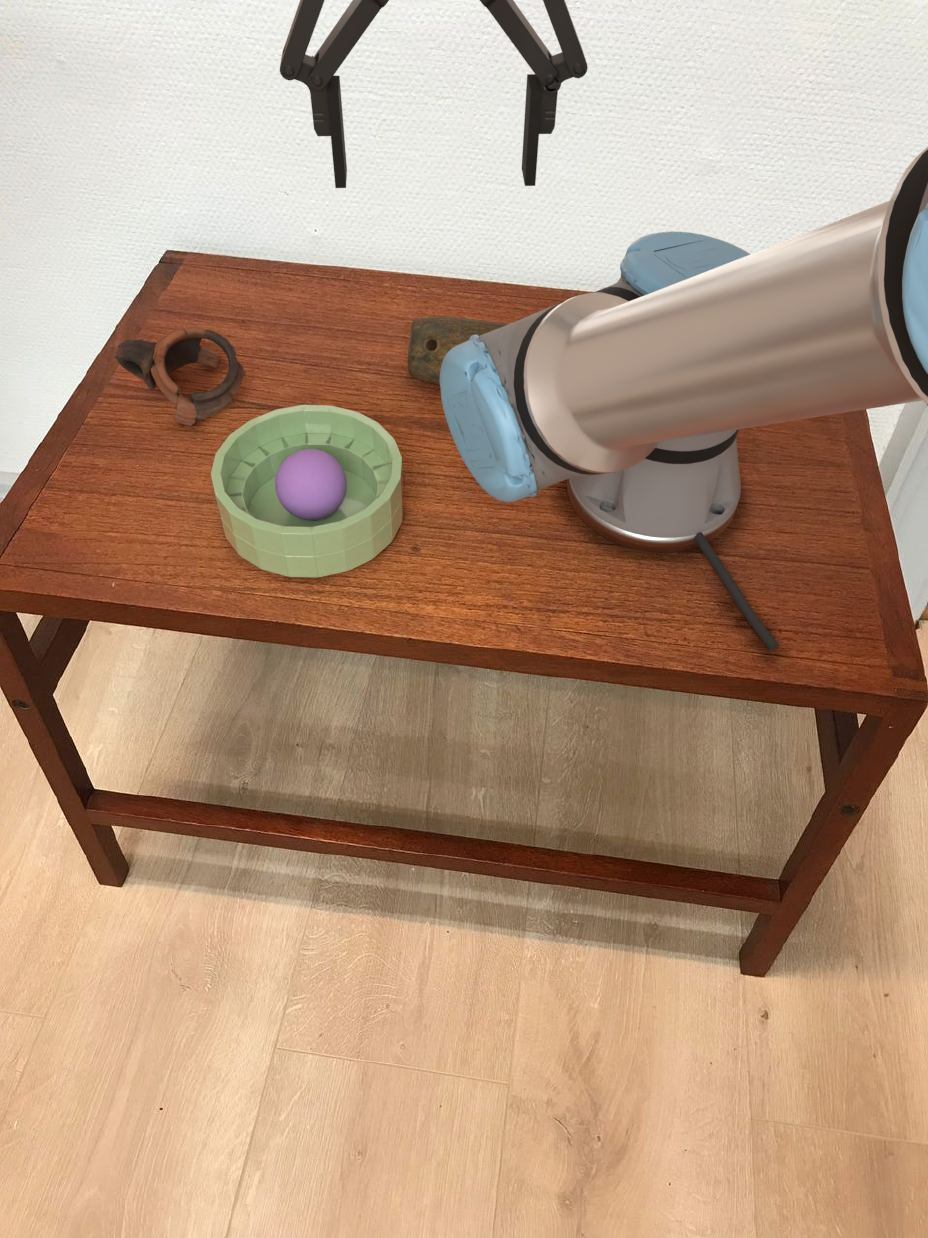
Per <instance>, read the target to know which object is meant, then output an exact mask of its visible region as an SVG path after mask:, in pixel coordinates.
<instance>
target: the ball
mask: <svg viewBox="0 0 928 1238" xmlns="http://www.w3.org/2000/svg"><path fill="white" fill-rule="evenodd" d="M275 489H276V494H277V497H278V499H279V501H280V503H281V504H282V506H283V507H284V508H285V509H286V510H287V511H288V512H289V513H290V514H292V515H294V516H295V517H297V518H300V519H304V520H320V519H323V518H326V517H328V516H330V515H331V514H333V513H334V512H335V511H336V510H337V509H338V508H339V507H340V505H341V504H342V502H343V500H344V498H345V495H346V490H347V481H346V476H345V473H344V470H343V468H342V467H341V465H340V464H339V462H338V461H337V460H336V459H335V458H334V457H332V456H331V455H330V454H328V453H326V452H324V451H321V450H317V449H304V450H300V451H297V452H295V453H293V454H291V455H290V456H288V457H287V458H286V459H285V460H284V461H283V462H282V464H281V465H280V467H279V469H278V471H277V474H276V479H275Z"/></svg>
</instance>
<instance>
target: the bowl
mask: <svg viewBox="0 0 928 1238" xmlns="http://www.w3.org/2000/svg"><path fill="white" fill-rule="evenodd" d="M304 449H317V450H321V451H324V452H326V453H328V454H330V455H331V456H332V457H334V458H335V459H336V460H337V461H338V462H339V464H340V465H341V467H342V468H343V470H344V473H345V476H346V481H347V490H346V495H345V498H344V500H343V502H342V504H341V505H340V507H339V508H338V509H337V510H336V511H335V512H334V513H333V514H331V515H330V516H328V517H326V518H323V519H320V520H304V519H300V518H297V517H295V516H294V515H292V514H290V513H289V512H288V511H287V510H286V509H285V508H284V507H283V506H282V504H281V503H280V501H279V499H278V497H277V494H276V489H275V479H276V474H277V471H278V469H279V467H280V465H281V464H282V462H283V461H284V460H285V459H286V458H287V457H288V456H290V455H291V454H293V453H295V452H297V451H300V450H304ZM403 472H404V467H403V456H402V454H401V452H400V449H399V446H398V444H397V442H396V440H395V438H394V437H393V436H392V435H391V434H390V433H389V432H388V430H387V429H386V428H384V427H383V426H382V425H381V424H380V423H379V422H378V421H376V420H374V419H373V418H371V417H369V416H366V415H364V414H362V413H361V412H359V411H357V410H351V409H348V408H343V407H338V406H335V405H330V404H329V405H328V404H326V405H325V404H298V405H295V406H289V407H282V408H277V409H273V410H271V411H269V412H266V413H264V414H262V415H258V416H257V417H254V418H252V419H250V420H248V421H246V422H245V423H243V424H242V425H241V426H240V427H238V428H237V429H235V430H234V431H233V432H231V433H230V434H229V435H228V436H227V438H226V439H225V440H224V441H223V443H222V444H221V446H220V447H219V448H218V450H217V451H216V452H215V455H214V459H213V463H212V467H211V471H210V478H211V482H212V488H213V492H214V495H215V499H216V500H215V501H216V504H217V508H218V512H219V517H220V520H221V524H222V528H223V532H224V536H225V539H226V540H227V541H228V543H229V544H230V545H231V547H232V548H233V549H234V551H235V552H236V553H237V554H238V556H239V557H241V558H243V559H244V560H246V561H247V562H248V563H251V565H254V566H255V567H257V568H258V569H260V570H262V571H265V572H269V573H273V574H277V575H280V576H283V577H287V578H288V577H289V578H313V579H314V578H322V577H327V576H332V575H337V574H341V573H346V572H349V571H351V570H354V569H355V568H357V567H360V566H362V565H364V564H365V563H368V562H369V561H371V560H374V559H375V558H376V557H377V556H378V555H379V554H381V552H382V551H383V550H385V549H386V548H387V547H388V546H389V545H390V544H391V543H392V542H393V541H394V539H395V537H396V535H397V533H398V530H399V529H400V527H401V525H402V523H403V519H404V517H403V516H404V505H405V499H404V498H405V497H404V473H403Z"/></svg>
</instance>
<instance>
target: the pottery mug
mask: <svg viewBox="0 0 928 1238" xmlns="http://www.w3.org/2000/svg"><path fill="white" fill-rule="evenodd" d="M202 339H204V340H208V341H210V342H212V343H214V344H216V345H217V346H218V347H219V348H220V349H221V350H222V351H223V353H224V354H225V355H226V357H227V361H228V371H227V374H226V376H225V378H224V379H223V380H222V382H221V383H219V384H218V385H217V386H215V387H213V388H211V389H209V390H204V391H190V396H191V398H190V397H187V396H184V395H183V394H181V393H180V386H179V385H178V384H177V383H176V382H175V381H173V380H172V378H171V377H170V376H171V375H172V374H173V373H174V372H175V371H177V370H179V369H181V368H183V367H185V366H187V365H192V364H199V365H200V364H201V365H205V366H208V367H212V368H213V369H217V368H218V367H219V363H220V361H219V360H220V357H221V355H220V353H219V352H217V351H214V350H211V349H209V348H208V347H206V346H203V345H201V342H202ZM236 355H237V351H236V348H235V346H234V345H233V344H232V343H231V342H230V341H229V340H228V339H227V338H226V337H224V336H222V335H221V334H220V333H218V332H216V331H214V330H212V329H206V328H203V327H196V326H192V327H191V326H190V327H185V328H180V329H179V328H178V329H176V330H175V331H173V332H171V333H169V334H167V335H166V336H164V337H163V338H161V339H160V340H158V341H157V342H154V341H153V342H151V341H147V340H141V339H126V340H122V341H121V342H120V343H119V344H117V350H116V353H115V359H116V361H117V362H118V364H119V365H120V367H122V368H123V369H124V370H126V372H129V373H130V374H132V375H134V376H135V377H137V378H139V379H140V380H142V381H143V382H144V383H145V385H146V386H147V388H148V389H149V390H150V391H154V390H155V389H156V386H157V387H158V388H159V390H160V392H161V393H162V394H163V396H164V397H165V399H167V400H168V401H169V402H170V403H172V404H173V405H174V406H176V408H175V414H174V416H173V418H174V420H175V422H176V423H178V424H180V425H184V426H187V427H192V426H193V425H194V424H196V422H197V421H203V420H205V419H207V418H210V417H212V416H214V415H215V414H217V413H219V412H221V411H222V410H224V409H226V408H227V407H228V406H230V405H231V404H232V403H233V402H234V398H233V396H237V395H238V394H239V392H240V389H241V386H242V382H243V380H244V377H245V376H246V374H247V371H246V370H245V368H244V366H243V365H242V364H241V363H240V362H239V361H238V357H237V356H236Z"/></svg>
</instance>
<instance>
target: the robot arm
mask: <svg viewBox="0 0 928 1238" xmlns="http://www.w3.org/2000/svg"><path fill="white" fill-rule="evenodd" d="M389 1H390V0H352V1H351V2H350V3H349V5H348V6H347V7H346V9H345V11H344V12H343V14H342V15H341V16H340V18H339V20H337V22H336V23H335V25H334V27H333V28H332V30H331V31H330V33H328V35H327V37H326V38H325V39H324V41H323V43H322V44H321V45H320V47H319V49H318V50H317V51H316V53H315V54H314V55H308V54H306V53H307V51H308V48H309V45H310V42H311V40H312V36H313V34H314V32H315V28H316V26H317V22H318V19H319V17H320V14H321V11H322V8H323V6H324V3H325V0H299V2H298V5H297V8H296V10H295V14H294V17H293V19H292V24H291V26H290V29H289V30H288V31H289V32H288V33H287V34H288V35H287V37H286V40H285V43H284V46H283V49H282V53H281V59H280V64H279V73H280V76H281V77H282V78H283V79H284V80H286V81H294V80H295V81H298V82H300V83H302V84H304V85H306V87H307V88H308V90H309V95H310V104H311V113H312V114H311V115H312V123H313V130H314V132H315V134H316V136H317V137H330V143H331V153H332V154H331V155H332V165H333V177H334V186H335V189H346V188H347V177H348V167H347V165H348V164H347V152H346V140H345V139H346V138H345V128H344V116H343V115H344V114H343V102H342V89H341V76H340V75H335V74H336V73H337V71H338V70H339V69H340V67H341V66H342V64H343V63H344V61H345V60H346V59H347V57H348V56H349V55H350V53H351V51H352V50H353V49H354V47H355V46H356V44H357V43H358V42H359V40H360V39H361V38H362V36H364V33H366V31H367V29H368V28H369V26H370V25H371V23H372V22H373V21H374V19H375V18H376V16H377V15H378V14H379V12H380V11H381V9H382V8H384V7H386V5H387V4H388V3H389ZM479 2H480V3H481V4H482V5H483V6H484V7H485V8H486V9H487V10H488V12H489V13H490V14H491V16H492V17H493V18H494V20H495V21H496V22H497V24H498V25H499V27H500V28H501V30H502V31H503V32H504V33H505V35H506V36H507V37H508V39H509V40H510V42H511V43H512V44H513V46H514V47H515V49H516V50H517V51H518V53H519V54H520V55H521V57H522V58H523V59H524V61H525V62H526V64H527V65H528V67H529V68H530V69H531V71H532V72H533V73H528V74H526V87H525V90H526V91H525V103H524V104H525V106H524V121H523V139H522V153H521V154H522V156H521V158H522V159H521V173H522V178H523V184H524V187H536V180H537V168H538V167H537V166H538V153H539V141H540V140H539V139H540V135H552V134H553V132H554V129H555V127H556V117H557V104H558V94H559V93H558V92H559V90H560V89H561V86H562V83H564V82H565V81H567V80H569V79H570V80H571V79H572V78H574V79H581V78H584V76H585V75H586V74H587V73H588V68H589V67H588V62H587V60H586V56H585V53H584V50H583V47H582V44H581V42H580V38H579V36H578V33H577V31H576V28H575V25H574V22H573V19H572V15H571V13H570V11H569V8H568V5H567V2H566V0H542V2H543V4H544V7H545V10H546V12H547V15H548V18H549V21H550V24H551V26H552V29H553V31H554V34H555V36H556V40H557V42H558V45H559V47H560V49H561V50H560V51H561V52H559V53H556V54H554V55H553V54H552V53H551V51H550V50H549V49H548V47H547V46H546V44H545V42H543V40H542V39H541V37H540V36H539V35H538V33H537V32H536V30H535V29H534V28H533V26H532V24H531V22H529V20H528V19H527V18H526V16H525V15H524V14H523V13H524V12H522V10H521V9H520V7H519V6H518V5H517V3H516V2H515V1H514V0H479ZM619 270H620V278H619V279H618V280H617V282H615V283H613V284H610V285H608V286H606V287H604V288H600V289H598V290H596V291H594V292H587V293H582V294H578V295H576V296H573V297H570V298H568V299H566V300H563V301H560V302H559V303H556V304H554V305H551V306H549V307H547V308H544V309H542V310H540V311H537V312H534V313H532V314H531V315H527V316H526V317H523V318H520V319H519V320H516V321H514V322H510V323H507V324H508V325H506V326H503V327H501V328H498V329H496V330H493V331H491V332H488V333H485V334H483V335H480V336H478V335H472V336H471V337H470V338H469V340H468V341H466V342H464V343H462V344H459V345H457V346H455V347H453V348H452V349H451V350H450V351H449V352H448V353H447V354H446V355H445V357H444V359H443V362H442V365H441V370H440V385H439V387H440V399H441V404H442V409H443V412H444V416H445V420H446V423H447V425H448V426H447V427H448V430H449V432H450V434H451V435H450V436H451V438H452V440H453V442H454V445H455V447H456V449H457V451H458V454H459V455H460V457H461V459H462V461H463V463H464V464H465V466H466V468H467V469H468V471H469V472H470V474H471V475H472V476H473V478H474V479H475V481H476V482H477V484H478V485H479V486H480V487H481V488H482V490H483V491H485V492H486V493H487V494H488V495H489V496H491V497H492V498H494V499H495V500H497V501H500V502H504V503H514V502H518V501H520V500H523V499H525V498H530V499H531V498H534V497H536V496H537V494H538V491H541V490H544V489H545V488H548V487H551V486H553V485H555V484H558V483H560V482H563V481H566V491H567V496H568V500H569V502H570V504H571V506H572V508H573V510H574V512H575V513H576V515H577V516H578V517H579V518H580V519H581V521H582V522H583V523H584V524H585V525H587V527H589V529H591V530H593V531H594V532H595V533H597V534H598V535H599V536H601V537H602V538H605V539H607V540H609V541H610V542H613V543H615V544H617V545H620V546H623V547H625V548H629V549H632V550H636V551H641V552H647V553H660V554H661V553H666V554H667V553H678V552H685V551H689V550H693V549H696V548H699V549H700V550H701V552H702V553H703V556H705V558H706V559H707V561H708V562H709V564H710V565H711V567H712V569H713V570H714V571H715V573H716V575H717V576H718V577H719V580H720V581H721V582H722V584H723V585H724V587H725V589H726V590H727V592H728V593H729V595H730V596H731V598H732V599H733V601H734V603H735V604H736V606H737V608H738V609H739V610H740V612H741V614H742V616H744V617H745V619H746V621H747V623H749V624H748V625H750V626H751V628H752V629H753V631H754V632H755V633H756V635H757V636H758V637H759V639H761V641H762V642H763V644H764V645H765V646H766V647H767V649H769V650H768V651H770V652H774V651H775V650H777V649H778V648H779V647H780V644H779V642H778V641H777V640H776V639H775V637H774V636H773V635H772V634H771V632H770V631H769V629H767V627H766V626H765V625H764V623H763V622H762V620H761V619H760V618H759V617H758V615H757V614H756V612H755V611H754V609H753V607H752V606H751V605H750V603H749V602H748V600H747V599H746V597H745V596H744V594H743V592H742V590H741V589H740V588H739V586H738V585H737V583H736V581H735V580H734V578H733V577H732V575H731V573H730V572H729V571H728V570H727V568H726V566H725V565H724V563H723V561H722V559H720V557H719V556H718V554H717V553H716V551H715V549H714V548H713V547H712V545H711V544H710V542H712V541H713V540H715V539H717V538H718V537H720V536H721V534H722V533H724V532H725V531H726V529H727V528H728V527H729V526H730V525H731V523H732V521H733V518H734V516H735V513H736V510H737V508H738V504H739V502H740V498H741V493H742V481H741V474H740V473H741V472H740V464H739V463H740V462H739V452H738V442H737V436H738V433H739V430H743V429H749V428H757V427H762V426H763V427H764V426H768V425H775V424H780V423H781V424H782V423H787V422H794V421H801V420H807V419H814V418H820V417H825V416H832V415H839V414H846V413H851V412H858V411H864V410H865V411H866V410H871V409H877V408H883V407H889V406H897V405H902V404H909V403H916V402H920V401H923V403H925V404H926V405H927V406H928V146H927V147H926V148H925V149H923V150H922V151H921V152H920V153H919V154H918V155H916V157H914V159H913V160H912V161H911V162H910V164H909V165H908V167H907V168H906V169H905V170H904V172H903V173H902V175H901V177H900V179H899V180H898V182H897V184H896V186H895V188H894V190H893V192H892V195H891V197H890V198H889V200H887V201H885V202H882V203H880V204H877V205H875V206H872V207H869V208H866V209H864V210H862V211H859V212H856V213H854V214H851V215H848V216H846V217H843V218H841V219H838V220H836V221H833V222H830V223H828V224H825V225H823V226H820V227H817V228H815V229H813V230H810V231H807V232H804V233H803V234H799V235H797V236H794V237H791V238H790V239H786V240H784V241H781V242H779V243H776V244H774V245H771V246H769V247H766V248H763V249H761V250H759V251H756V252H753V253H750V252H748V251H747V250H745V249H743V248H741V247H739V246H737V245H735V244H733V243H730V242H729V241H725V240H722V239H720V238H717V237H716V238H715V237H712V236H709V235H705V234H701V233H695V232H690V231H689V232H687V231H671V230H669V231H660V232H654V233H653V232H652V233H649V234H646V235H643V236H641V237H639V238H638V239H636V240H634V241H632V243H631V244H630V245H629V246H628V248H627V249H626V252H625V255H624V257H623V258H622V260H621V262H620V264H619Z"/></svg>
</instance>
